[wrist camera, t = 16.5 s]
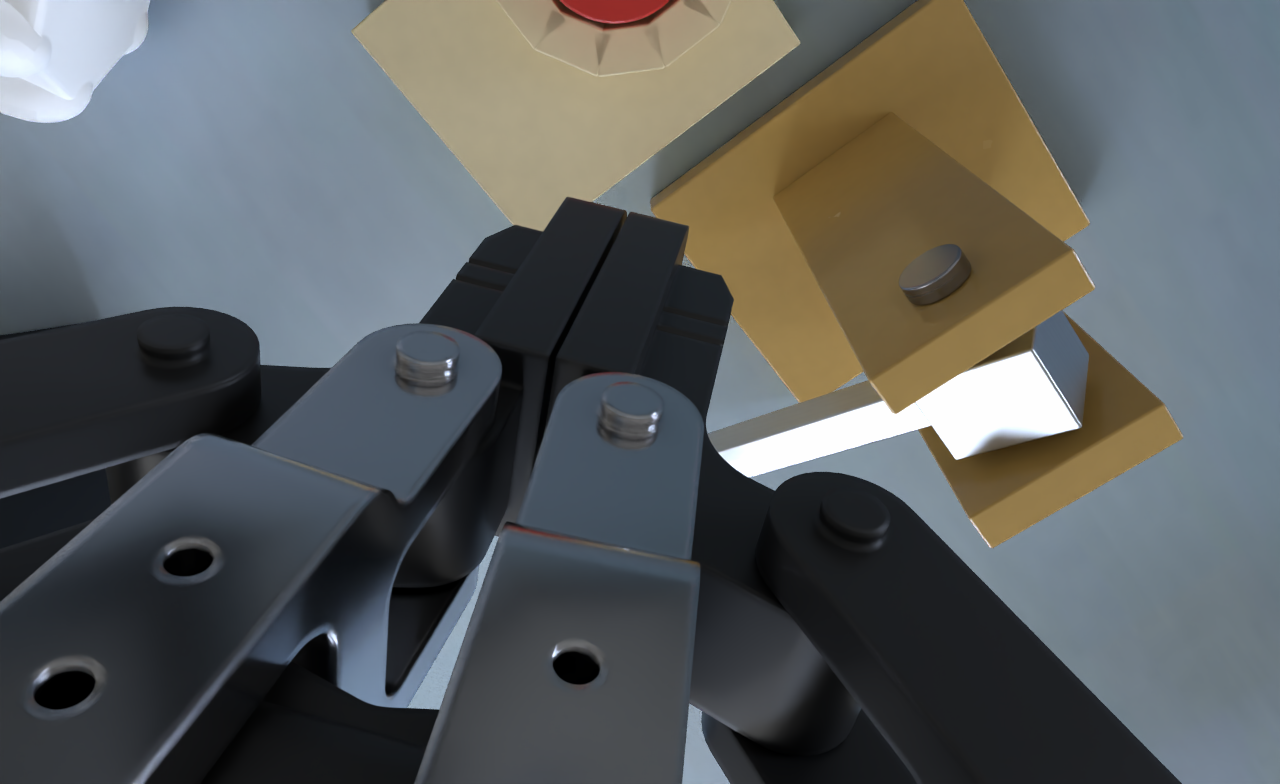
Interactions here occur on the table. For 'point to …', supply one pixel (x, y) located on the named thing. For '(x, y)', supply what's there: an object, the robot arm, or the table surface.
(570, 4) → the button
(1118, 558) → the table surface
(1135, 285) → the table surface
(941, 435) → the tap lever
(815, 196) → the bracket
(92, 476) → the tissue box
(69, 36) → the dog bone
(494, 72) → the button box
